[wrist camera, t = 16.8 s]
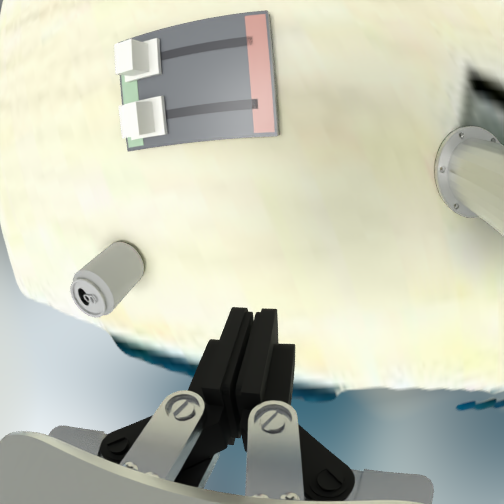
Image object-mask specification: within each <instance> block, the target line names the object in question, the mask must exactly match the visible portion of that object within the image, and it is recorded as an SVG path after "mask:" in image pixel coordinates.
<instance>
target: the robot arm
mask: <svg viewBox="0 0 504 504" xmlns="http://www.w3.org/2000/svg"><path fill="white" fill-rule="evenodd" d="M459 133H460V136H459ZM440 167H441V170H440ZM435 180H436V185H437V188H438V191H439V194H440V196H441V198H442V199H443V201H444V202H445V203H446V205H447V206H448V207H449V208H450V209H451V210H453V211H454V212H455V213H457V214H459V215H461V216H464V217H468V218H476V217H480V218H482V219H483V220H484V221H485V222H487V223H488V224H489V225H491V226H492V227H493V228H494V229H496V230H497V231H498V232H499V233H500V234H502V235H503V236H504V145H502V144H501V143H500V142H499V141H498V139H497V138H496V137H495V136H494V135H493V134H492V133H491V132H489V131H487V130H486V129H483V128H480V127H476V126H464V127H461V128H458V129H456V130H455V131H453V132H451V133H450V134H449V135H448V136H447V137H446V139H445V140H444V141H443V143H442V144H441V147H440V149H439V151H438V154H437V158H436V163H435ZM454 204H455V205H454ZM294 367H295V344H278V320H277V309H262V310H261V312H256V314H255V318H254V320H253V312H248V309H247V308H238V307H232V309H231V311H230V314H229V316H228V319H227V322H226V324H225V327H224V329H223V332H222V334H221V337H220V340H214V339H211V340H209V342H208V344H207V346H206V349H205V351H204V353H203V356H202V358H201V360H200V363H199V365H198V367H197V370H196V372H195V375H194V377H193V379H192V382H191V384H190V387H189V389H188V391H186V390H185V391H178V392H174V393H172V394H171V395H169V396H167V397H166V398H165V399H164V401H163V402H162V403H161V405H160V406H159V408H158V409H157V411H156V412H155V414H154V415H153V416H150V417H148V418H146V419H143V420H141V421H138V422H136V423H134V424H131V425H129V426H126V427H124V428H121V429H118V430H116V431H114V432H111V433H110V434H105V433H104V432H103V431H96V430H88V429H82V428H75V427H69V426H58V427H56V428H54V429H53V430H52V431H51V432H50V434H49V436H48V435H45V434H41V433H37V432H28V431H27V432H26V431H18V432H12V433H10V434H8V435H6V436H5V437H4V438H3V439H2V440H1V441H0V504H432V498H433V493H434V489H433V484H432V482H431V480H430V479H428V478H427V477H426V476H423V475H417V474H404V473H392V472H382V471H374V470H367V469H364V471H358V470H352V469H350V468H349V467H348V466H347V465H346V464H345V463H343V462H342V461H341V460H340V459H339V458H337V457H336V456H335V455H334V454H332V453H331V452H330V451H329V450H328V449H326V448H325V447H324V446H323V445H322V444H321V443H319V442H318V441H317V440H316V439H315V438H313V437H312V436H311V435H310V434H309V433H308V432H307V431H305V430H304V429H303V428H302V427H301V426H300V425H299V424H298V418H297V414H296V411H295V410H294V409H293V407H292V406H291V399H292V390H293V380H294ZM241 434H242V439H243V443H244V448H245V451H246V452H247V467H246V492H245V493H246V494H245V496H242V495H235V494H229V493H223V492H217V491H212V490H207V489H203V488H204V486H205V484H206V482H207V480H208V478H209V476H210V474H211V472H212V470H213V468H214V466H215V464H216V462H217V460H218V458H219V455H220V451H222V450H224V449H226V448H227V445H228V444H229V445H234V441H235V438H240V437H241Z"/></svg>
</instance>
